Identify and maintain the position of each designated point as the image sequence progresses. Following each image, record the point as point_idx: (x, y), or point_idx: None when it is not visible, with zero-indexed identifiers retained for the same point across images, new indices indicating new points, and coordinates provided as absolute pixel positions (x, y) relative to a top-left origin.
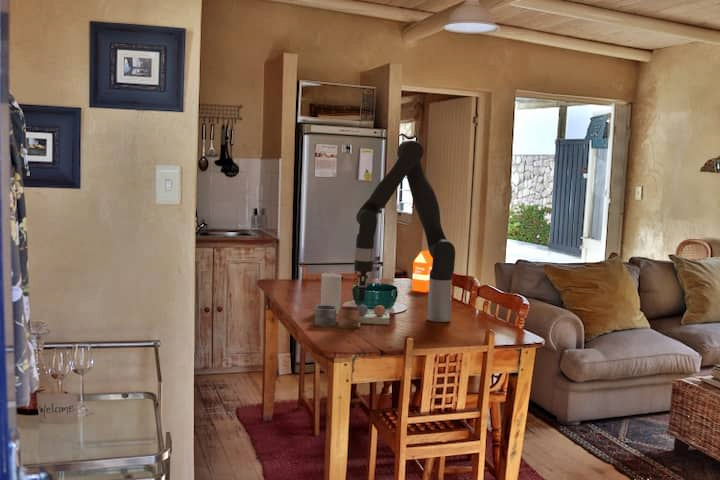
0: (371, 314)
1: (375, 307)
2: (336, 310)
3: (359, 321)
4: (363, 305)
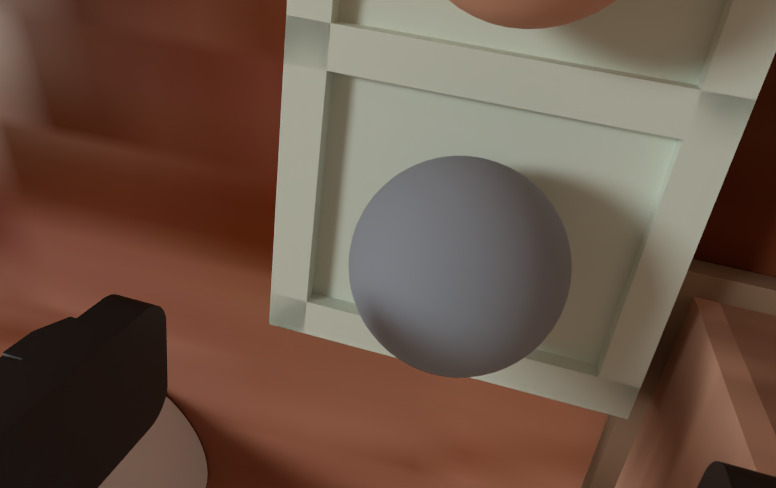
0: (476, 59)
1: (536, 4)
2: (156, 442)
3: (684, 283)
4: (485, 306)
